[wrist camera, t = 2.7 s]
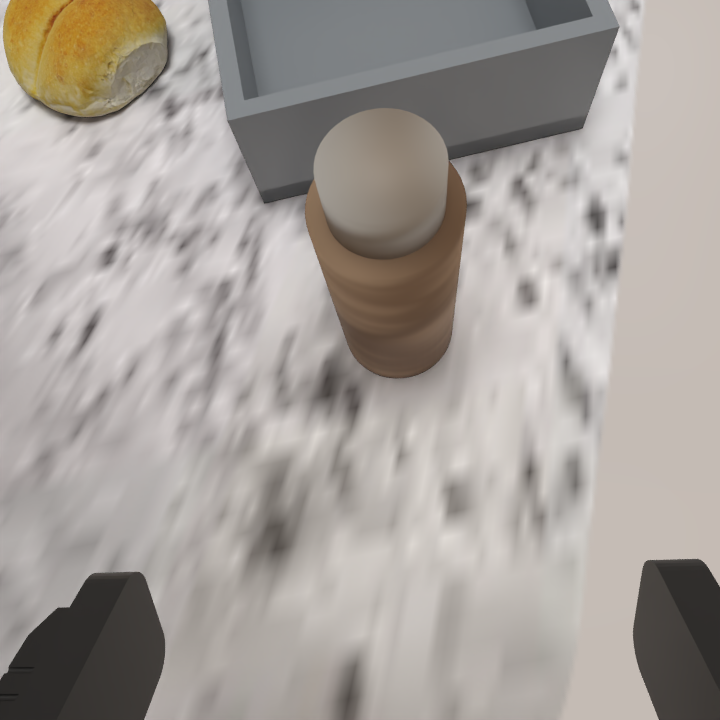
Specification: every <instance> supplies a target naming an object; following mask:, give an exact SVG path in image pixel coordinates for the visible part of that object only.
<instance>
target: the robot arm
mask: <svg viewBox="0 0 720 720" xmlns="http://www.w3.org/2000/svg"><path fill="white" fill-rule="evenodd" d="M633 640H634V648H635V654H636V659H637V663H638V666H639V670H640V672H641V675H642V678H643V680H644V683H645V685H646V688H647V690H648V693H649V695H650V698H651V700H652V703H653V706H654V708H655V711H656V713H657V716H658V718H659V720H720V587H719V585H718V583H717V582H716V580H715V578H714V577H713V575H712V573H711V572H710V570H709V568H708V567H707V566H706V564H705V563H704V562H703V561H701V560H699V559H682V560H681V559H678V560H648V561H646V562H645V563H644V566H643V570H642V576H641V582H640V589H639V595H638V602H637V608H636V614H635V620H634V628H633ZM164 658H165V638H164V633H163V630H162V627H161V624H160V621H159V618H158V615H157V612H156V609H155V606H154V603H153V600H152V597H151V594H150V591H149V588H148V585H147V582H146V579H145V577H144V576H143V574H142V573H140V572H116V573H94V574H92V575H90V576H89V577H88V578H87V579H86V581H85V582H84V584H83V586H82V587H81V589H80V591H79V592H78V594H77V596H76V598H75V599H74V601H73V603H72V604H71V606H70V607H68V608H57V609H56V610H55V611H54V612H53V613H52V614H51V615H49V616H48V617H47V618H46V619H45V620H44V621H43V622H42V623H41V624H40V625H39V626H38V627H37V628H36V629H35V630H33V631H32V632H31V633H30V634H29V635H28V637H27V638H26V640H25V641H24V643H23V645H22V646H21V648H20V649H19V651H18V653H17V654H16V656H15V657H14V659H13V661H12V662H11V664H10V665H9V670H8V673H7V674H4V675H3V676H2V678H1V680H0V720H144V718H145V716H146V713H147V710H148V708H149V705H150V702H151V700H152V697H153V694H154V692H155V689H156V686H157V684H158V681H159V678H160V676H161V673H162V669H163V664H164Z"/></svg>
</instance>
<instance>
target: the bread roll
mask: <svg viewBox="0 0 720 720" xmlns="http://www.w3.org/2000/svg"><path fill="white" fill-rule="evenodd" d="M3 41H4V48H5V53H6V57H7V61H8V64H9V68H10V70H11V72H12V74H13V76H14V77H15V79H16V81H17V82H18V84H19V85H20V86H21V87H22V89H23V90H24V91H25V92H26V93H27V94H28V95H30V96H31V97H33V98H35V99H37V100H40V101H41V102H42V103H44V104H45V105H46V106H48V107H49V108H51V109H53V110H55V111H58V112H60V113H64V114H68V115H73V116H77V117H95V116H103V115H106V114H109V113H112V112H115V111H118V110H119V109H121V108H123V107H124V106H126V105H127V104H128V103H130V102H131V101H132V100H133V99H134V98H135V97H137V96H138V95H140V94H142V93H143V92H144V91H145V90H146V89H147V88H148V87H149V86H150V85H151V84H152V83H153V82H154V80H155V79H156V78H157V77H158V76H159V74H160V73H161V72H162V70H163V69H164V67H165V64H166V62H167V55H168V54H167V28H166V21H165V19H164V17H163V15H162V14H161V12H160V10H159V9H158V7H157V6H156V5H155V4H154V3H153V2H152V1H151V0H11V1H10V3H9V5H8V7H7V10H6V13H5V18H4V25H3Z"/></svg>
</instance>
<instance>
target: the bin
mask: <svg viewBox="0 0 720 720" xmlns="http://www.w3.org/2000/svg"><path fill="white" fill-rule="evenodd" d="M208 3H209V9H210V15H211V21H212V28H213V34H214V40H215V46H216V52H217V59H218V65H219V71H220V77H221V83H222V90H223V96H224V102H225V108H226V114H227V121H228V123H229V125H230V127H231V130H232V132H233V134H234V136H235V139H236V141H237V143H238V145H239V148H240V150H241V152H242V154H243V156H244V159H245V161H246V163H247V165H248V168H249V170H250V172H251V174H252V177H253V179H254V181H255V183H256V186H257V188H258V190H259V192H260V195H261V197H262V199H263V201H264V203H267V202H271V201H275V200H280V199H284V198H288V197H292V196H297V195H301V194H305V193H308V191H309V188H310V186H311V184H312V182H313V180H314V172H313V170H314V159H315V155H316V152H317V149H318V147H319V145H320V143H321V142H322V140H323V139H324V137H325V136H326V135H327V133H328V132H329V131H330V130H331V129H332V128H333V127H334V126H336V125H337V124H338V123H340V122H341V121H342V120H344V119H346V118H348V117H349V116H351V115H354V114H356V113H359V112H362V111H366V110H370V109H377V108H393V109H400V110H404V111H408V112H411V113H413V114H416V115H418V116H419V117H421V118H423V119H425V120H426V121H427V122H429V123H430V124H431V125H432V126H433V127H434V128H435V129H436V130H437V131H438V133H439V134H440V135H441V137H442V139H443V141H444V143H445V145H446V148H447V153H448V160H450V159H454V158H458V157H462V156H467V155H471V154H475V153H479V152H484V151H488V150H492V149H496V148H501V147H505V146H509V145H513V144H518V143H522V142H526V141H530V140H535V139H539V138H543V137H547V136H551V135H556V134H560V133H564V132H568V131H573V130H577V129H581V128H583V126H584V123H585V120H586V117H587V115H588V112H589V109H590V106H591V104H592V101H593V98H594V95H595V93H596V90H597V87H598V84H599V82H600V79H601V76H602V73H603V71H604V68H605V65H606V62H607V60H608V57H609V54H610V51H611V49H612V46H613V43H614V40H615V38H616V35H617V32H618V29H619V24H618V22H617V20H616V18H615V16H614V13H613V11H612V9H611V7H610V5H609V2H608V0H208Z"/></svg>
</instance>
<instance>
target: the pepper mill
mask: <svg viewBox="0 0 720 720" xmlns="http://www.w3.org/2000/svg"><path fill="white" fill-rule="evenodd" d="M313 172H314V180H313V182H312V184H311V186H310V188H309V191H308V194H307V199H306V204H305V218H306V225H307V228H308V232H309V235H310V238H311V240H312V243H313V246H314V249H315V252H316V255H317V258H318V260H319V263H320V266H321V269H322V272H323V275H324V278H325V280H326V283H327V286H328V289H329V292H330V295H331V297H332V300H333V303H334V306H335V309H336V312H337V315H338V317H339V320H340V323H341V326H342V329H343V332H344V335H345V337H346V340H347V343H348V346H349V348H350V350H351V352H352V354H353V355H354V357H355V358H356V359H357V361H358V362H359V363H360V364H361V365H363V366H364V367H365V368H366V369H368V370H369V371H371V372H373V373H375V374H378V375H381V376H384V377H389V378H406V377H412V376H415V375H418V374H420V373H423V372H425V371H426V370H428V369H430V368H431V367H432V366H434V365H435V364H436V363H437V362H438V361H439V360H440V359H441V357H442V356H443V355H444V353H445V351H446V350H447V348H448V345H449V343H450V339H451V335H452V327H453V318H454V310H455V302H456V293H457V285H458V277H459V268H460V260H461V252H462V243H463V235H464V227H465V218H466V208H467V201H466V193H465V188H464V185H463V183H462V180H461V178H460V176H459V174H458V172H457V171H456V169H455V168H454V167H453V165H452V164H451V163H450V162H449V161H448V153H447V148H446V145H445V143H444V141H443V139H442V137H441V135H440V134H439V133H438V131H437V130H436V129H435V128H434V127H433V126H432V125H431V124H430V123H429V122H427V121H426V120H425V119H423V118H421V117H419V116H418V115H416V114H413V113H411V112H408V111H404V110H400V109H393V108H377V109H370V110H366V111H362V112H359V113H356V114H354V115H351V116H349V117H348V118H346V119H344V120H342V121H341V122H340V123H338V124H337V125H336V126H334V127H333V128H332V129H331V130H330V131H329V132H328V133H327V135H326V136H325V137H324V139H323V140H322V142H321V143H320V145H319V147H318V149H317V152H316V155H315V159H314V170H313Z"/></svg>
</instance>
